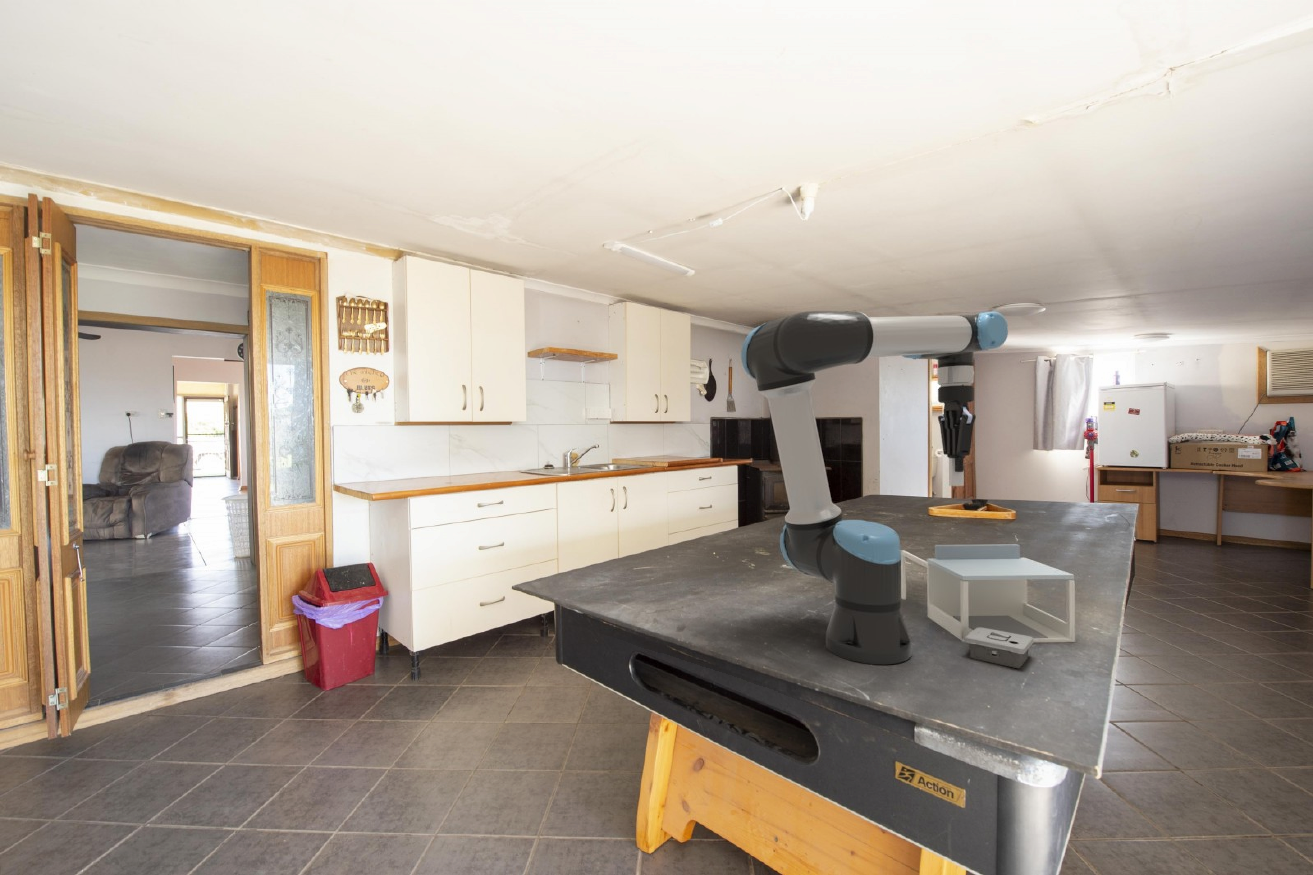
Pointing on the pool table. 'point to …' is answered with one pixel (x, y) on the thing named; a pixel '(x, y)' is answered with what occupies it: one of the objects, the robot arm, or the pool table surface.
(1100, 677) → the pool table surface
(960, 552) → the lid
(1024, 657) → the gray toolbox
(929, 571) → the housing
